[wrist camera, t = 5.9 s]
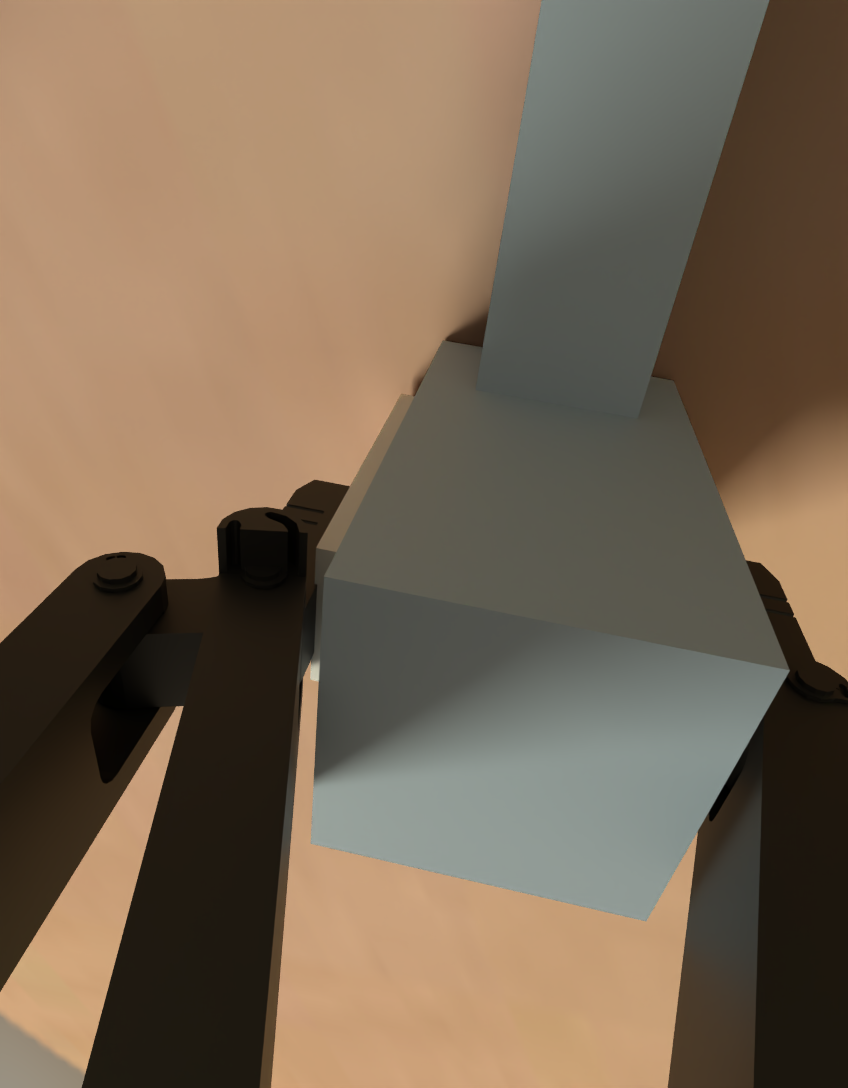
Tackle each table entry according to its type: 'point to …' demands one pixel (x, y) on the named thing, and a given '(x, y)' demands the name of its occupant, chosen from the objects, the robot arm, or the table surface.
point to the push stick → (558, 514)
